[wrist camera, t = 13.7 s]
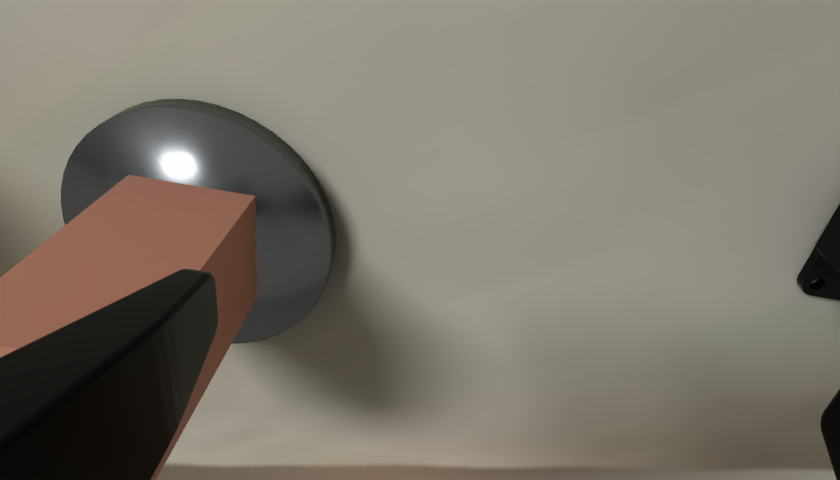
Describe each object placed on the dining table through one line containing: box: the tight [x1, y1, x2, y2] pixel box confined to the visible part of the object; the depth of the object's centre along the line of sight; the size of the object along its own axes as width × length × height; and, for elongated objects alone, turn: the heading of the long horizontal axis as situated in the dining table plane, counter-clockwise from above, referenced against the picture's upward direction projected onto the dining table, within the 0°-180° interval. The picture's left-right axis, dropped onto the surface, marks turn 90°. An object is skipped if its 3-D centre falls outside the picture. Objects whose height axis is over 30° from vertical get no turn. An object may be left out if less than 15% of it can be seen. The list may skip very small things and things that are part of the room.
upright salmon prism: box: [0, 175, 257, 480], centre depth 18 cm, size 4×4×8 cm
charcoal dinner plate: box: [61, 99, 335, 343], centre depth 22 cm, size 10×10×1 cm
